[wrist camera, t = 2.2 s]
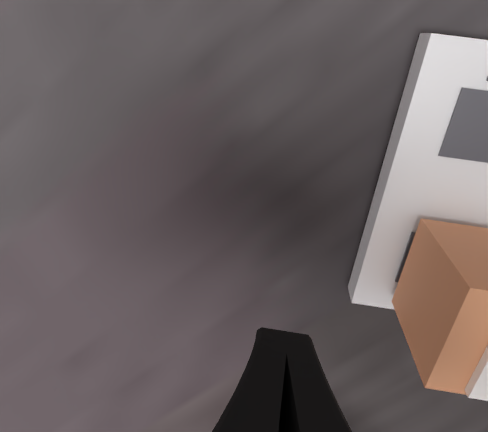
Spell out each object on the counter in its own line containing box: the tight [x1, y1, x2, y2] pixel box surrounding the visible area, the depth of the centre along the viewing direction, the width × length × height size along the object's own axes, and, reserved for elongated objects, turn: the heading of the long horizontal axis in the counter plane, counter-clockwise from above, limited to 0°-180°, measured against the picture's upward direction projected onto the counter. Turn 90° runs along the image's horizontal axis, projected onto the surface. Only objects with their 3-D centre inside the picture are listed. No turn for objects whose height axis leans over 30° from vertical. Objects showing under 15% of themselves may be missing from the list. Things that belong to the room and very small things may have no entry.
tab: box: [392, 218, 488, 401], centre depth 13 cm, size 3×4×5 cm
